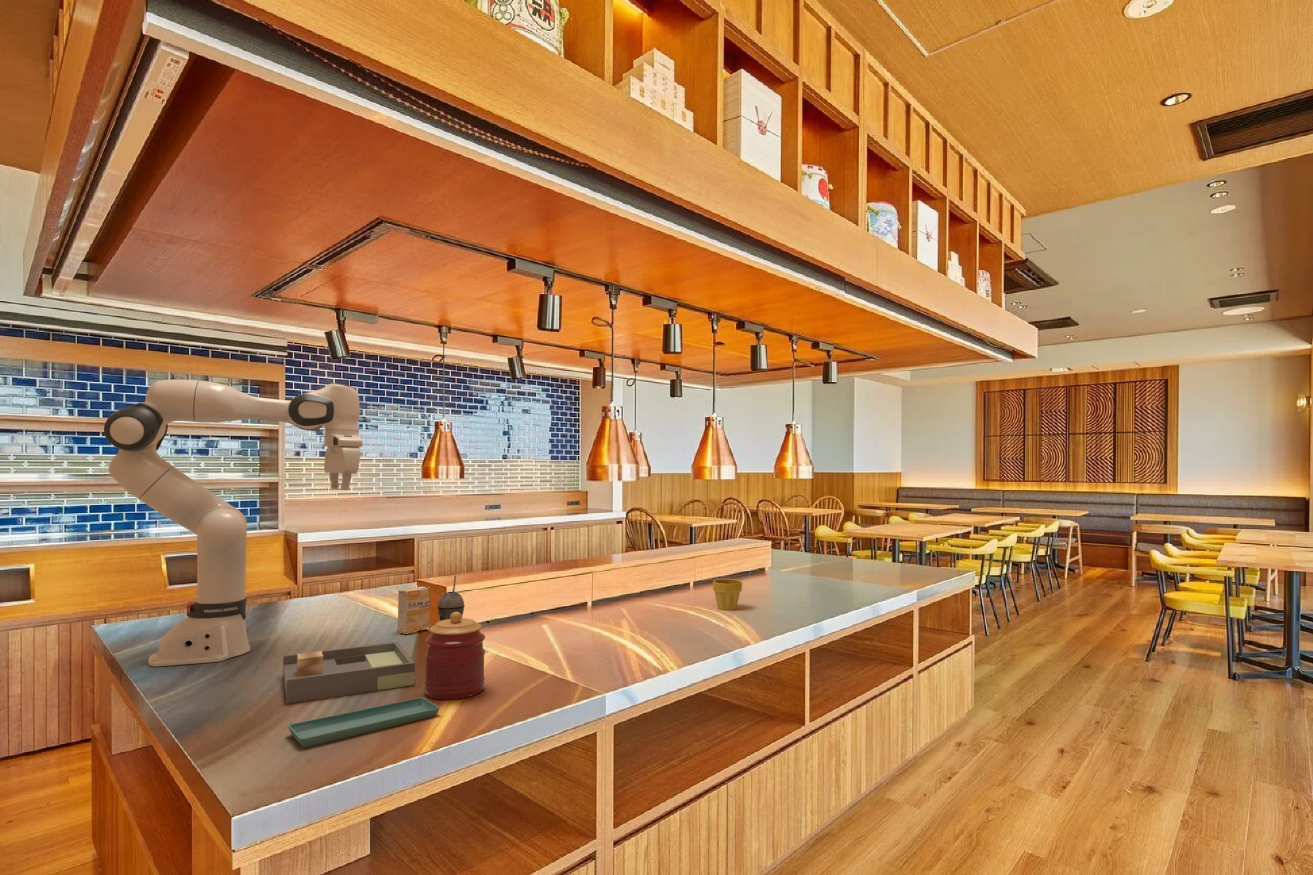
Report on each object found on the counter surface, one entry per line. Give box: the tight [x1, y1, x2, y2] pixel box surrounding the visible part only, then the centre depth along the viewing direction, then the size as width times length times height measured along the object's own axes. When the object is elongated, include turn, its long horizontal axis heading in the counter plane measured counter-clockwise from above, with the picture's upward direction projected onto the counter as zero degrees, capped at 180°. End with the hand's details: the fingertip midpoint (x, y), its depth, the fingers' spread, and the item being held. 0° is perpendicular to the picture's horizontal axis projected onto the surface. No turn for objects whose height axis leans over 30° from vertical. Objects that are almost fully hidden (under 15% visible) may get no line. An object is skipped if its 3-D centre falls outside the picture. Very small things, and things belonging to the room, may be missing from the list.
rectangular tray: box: [287, 697, 441, 748], centre depth 134 cm, size 26×9×2 cm, turn 131°
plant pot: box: [712, 578, 743, 611], centre depth 246 cm, size 10×10×10 cm
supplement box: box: [397, 586, 430, 634], centre depth 210 cm, size 8×5×13 cm, turn 143°
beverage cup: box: [437, 574, 465, 621], centre depth 191 cm, size 7×7×20 cm
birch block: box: [296, 650, 323, 677], centre depth 158 cm, size 5×5×4 cm
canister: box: [424, 612, 486, 701], centre depth 155 cm, size 13×13×18 cm
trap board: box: [282, 641, 416, 705], centre depth 162 cm, size 26×22×5 cm
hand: (339, 489), depth 195 cm, fingers open, 8 cm apart
